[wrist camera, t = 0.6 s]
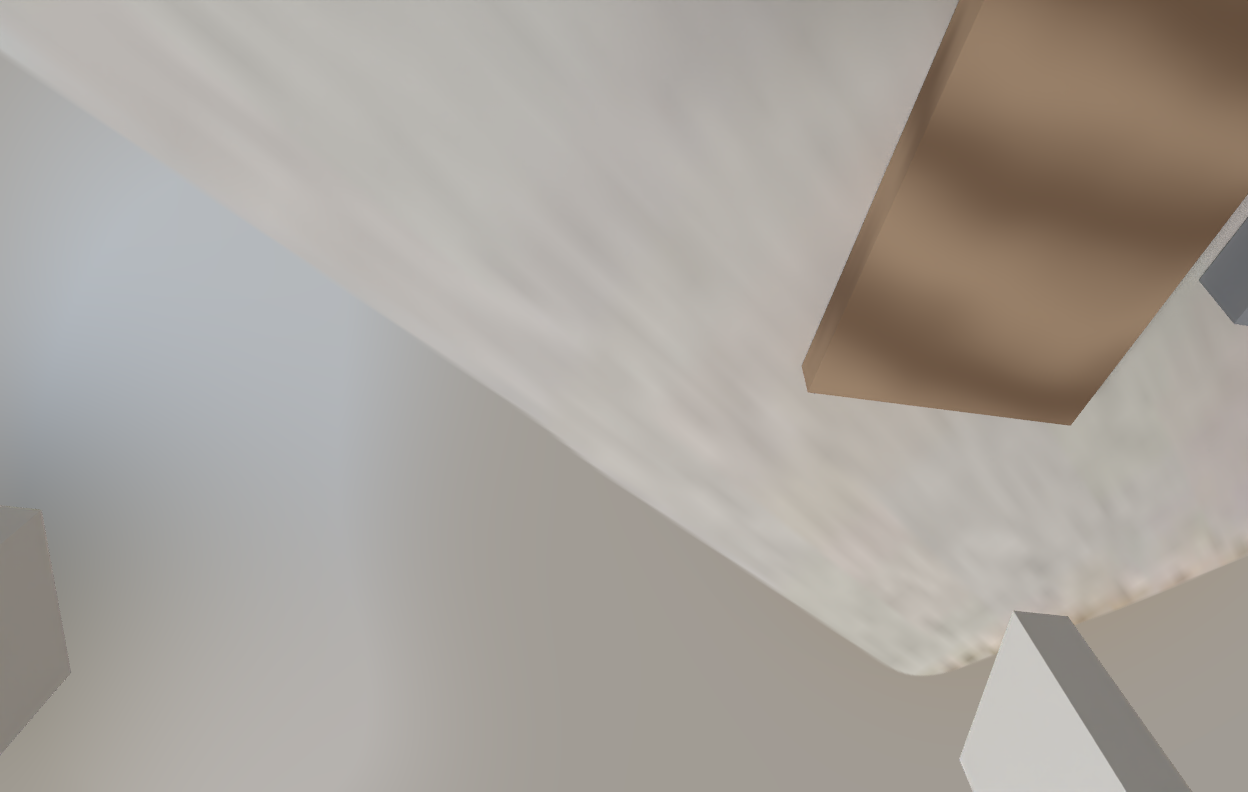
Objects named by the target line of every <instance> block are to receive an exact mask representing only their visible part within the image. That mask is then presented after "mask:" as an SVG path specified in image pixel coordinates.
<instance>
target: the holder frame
mask: <svg viewBox="0 0 1248 792" xmlns="http://www.w3.org/2000/svg"><path fill="white" fill-rule="evenodd" d="M1199 281H1200V282H1201V284H1202V285H1203V286H1204V287H1205V289H1206V290H1207V291H1208V292H1209V294H1210V295H1211V296H1212V297H1213V298H1214V300H1215V301H1216V302H1217V303H1218V305H1219V306H1220V307H1221V308H1222V310H1223V311H1224V312H1225V313H1226V315H1227V316H1228V317H1229V318H1230V319H1231V321H1232V322H1233V323H1234V324H1240V325H1246V326H1248V218H1247V219H1246V221H1245V222H1244V223H1243V224H1242V226H1241V227H1240V228H1239V230H1238V231H1237V232H1236V233H1235V235H1234V236H1233V237H1232V238H1231V240H1230V241H1229V242H1228V244H1227V245H1226V246H1225V247H1224V249H1223V250H1222V251H1221V253H1220V254H1219V255H1218V256H1217V258H1216V259H1215V260H1214V261H1213V263H1212V264H1211V265H1210V267H1209V268H1208V269H1207V270H1206V272H1205V273H1204V274H1203V276H1202V277H1201V278H1200V279H1199Z"/></svg>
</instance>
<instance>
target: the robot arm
mask: <svg viewBox="0 0 1248 792" xmlns="http://www.w3.org/2000/svg"><path fill="white" fill-rule="evenodd" d="M70 673H71V670H70V664H69V658H68V654H67V647H66V642H65V637H64V631H63V625H62V620H61V615H60V610H59V603H58V598H57V592H56V587H55V582H54V576H53V571H52V565H51V560H50V555H49V549H48V543H47V538H46V532H45V527H44V521H43V516H42V511H41V510H39V509H28V508H19V507H10V506H0V755H1V754H2V752H3V751H4V750H5V749H6V748H7V747H8V745H9V744H10V743H11V742H12V740H14V738H15V737H16V736H17V735H18V734H19V733H20V732H21V730H22V729H23V728H24V727H25V726H26V725H27V723H28V722H29V721H30V719H32V718H33V716H34V715H35V714H36V713H37V712H38V710H39V709H40V708H41V707H42V706H43V705H44V704H45V702H46V701H47V700H48V699H49V698H50V697H51V695H52V694H53V693H54V692H55V691H56V690H57V688H58V687H59V686H60V685H61V684H62V682H63V681H64V680H65V679H66V678H67V677H68V675H69V674H70ZM959 760H960V763H961V765H962V767H963V770H964V772H965V774H966V776H967V779H968V781H969V784H970V786H971V788H972V790H973V792H1192V791H1191V789H1190V788H1189V786H1188V785H1187V784H1186V782H1185V781H1184V779H1183V778H1182V777H1181V775H1180V774H1179V772H1178V771H1177V770H1176V768H1175V767H1174V765H1173V764H1172V763H1171V761H1170V760H1169V759H1168V757H1167V756H1166V754H1165V753H1164V751H1163V750H1162V748H1161V747H1160V746H1159V744H1158V743H1157V741H1156V740H1155V739H1154V737H1153V736H1152V734H1151V733H1150V732H1149V730H1148V729H1147V727H1146V726H1145V725H1144V723H1143V722H1142V720H1141V719H1140V717H1139V716H1138V715H1137V713H1136V712H1135V710H1134V709H1133V708H1132V706H1131V705H1130V703H1129V702H1128V701H1127V699H1126V698H1125V696H1124V695H1123V693H1122V692H1121V691H1120V689H1119V688H1118V686H1117V685H1116V684H1115V682H1114V681H1113V679H1112V678H1111V677H1110V675H1109V674H1108V672H1107V671H1106V670H1105V668H1104V667H1103V665H1102V664H1101V663H1100V661H1099V660H1098V658H1097V657H1096V656H1095V654H1094V653H1093V651H1092V650H1091V648H1090V647H1089V646H1088V644H1087V643H1086V641H1085V640H1084V639H1083V637H1082V636H1081V634H1080V633H1079V632H1078V630H1077V629H1076V627H1075V626H1074V624H1073V623H1072V622H1071V620H1070V619H1069V617H1068V616H1059V615H1049V614H1039V613H1030V612H1020V611H1013V613H1012V616H1011V618H1010V621H1009V624H1008V627H1007V629H1006V632H1005V635H1004V638H1003V640H1002V643H1001V646H1000V649H999V651H998V654H997V657H996V660H995V663H994V665H993V668H992V671H991V674H990V676H989V679H988V682H987V685H986V687H985V690H984V693H983V696H982V699H981V701H980V704H979V707H978V709H977V713H976V715H975V718H974V721H973V723H972V726H971V729H970V732H969V734H968V737H967V740H966V743H965V745H964V748H963V751H962V753H961V756H960V759H959Z"/></svg>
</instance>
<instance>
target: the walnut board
mask: <svg viewBox="0 0 1248 792" xmlns="http://www.w3.org/2000/svg"><path fill="white" fill-rule="evenodd" d="M1247 194H1248V0H959V2H958V5H957V7H956V9H955V12H954V14H953V16H952V18H951V21H950V23H949V25H948V28H947V30H946V32H945V35H944V37H943V39H942V42H941V44H940V46H939V49H938V51H937V53H936V56H935V58H934V60H933V63H932V65H931V67H930V70H929V72H928V74H927V77H926V79H925V81H924V84H923V86H922V88H921V90H920V93H919V95H918V97H917V100H916V102H915V104H914V107H913V109H912V111H911V114H910V116H909V118H908V121H907V123H906V125H905V128H904V130H903V132H902V135H901V137H900V139H899V142H898V144H897V146H896V149H895V151H894V153H893V155H892V158H891V160H890V162H889V165H888V167H887V169H886V172H885V174H884V176H883V179H882V181H881V183H880V186H879V188H878V190H877V193H876V195H875V197H874V200H873V202H872V204H871V207H870V209H869V211H868V214H867V216H866V218H865V220H864V223H863V225H862V227H861V230H860V232H859V234H858V237H857V239H856V241H855V244H854V246H853V248H852V251H851V253H850V255H849V258H848V260H847V262H846V265H845V267H844V269H843V272H842V274H841V276H840V279H839V281H838V283H837V286H836V288H835V290H834V292H833V295H832V297H831V299H830V302H829V304H828V306H827V309H826V311H825V313H824V316H823V318H822V320H821V323H820V325H819V327H818V330H817V332H816V334H815V337H814V339H813V341H812V344H811V346H810V348H809V351H808V353H807V355H806V357H805V360H804V362H803V364H802V369H803V373H804V378H805V382H806V386H807V391H808V392H810V393H818V394H826V395H834V396H842V397H850V398H858V399H865V400H873V401H881V402H889V403H897V404H905V405H913V406H920V407H928V408H936V409H944V410H952V411H960V412H968V413H976V414H983V415H991V416H999V417H1007V418H1015V419H1023V420H1031V421H1038V422H1046V423H1054V424H1062V425H1070V426H1071V424H1072V423H1073V422H1074V420H1075V419H1076V418H1077V416H1078V415H1079V414H1080V413H1081V411H1082V410H1083V409H1084V407H1085V406H1086V405H1087V403H1088V402H1089V401H1090V399H1091V398H1092V397H1093V396H1094V394H1095V393H1096V392H1097V390H1098V389H1099V388H1100V386H1101V385H1102V384H1103V382H1104V381H1105V380H1106V379H1107V377H1108V376H1109V375H1110V373H1111V372H1112V371H1113V369H1114V368H1115V367H1116V365H1117V364H1118V363H1119V362H1120V360H1121V359H1122V358H1123V356H1124V355H1125V354H1126V352H1127V351H1128V350H1129V349H1130V347H1131V346H1132V345H1133V343H1134V342H1135V341H1136V339H1137V338H1138V337H1139V335H1140V334H1141V333H1142V332H1143V330H1144V329H1145V328H1146V326H1147V325H1148V324H1149V322H1150V321H1151V320H1152V318H1153V317H1154V316H1155V315H1156V313H1157V312H1158V311H1159V309H1160V308H1161V307H1162V305H1163V304H1164V303H1165V302H1166V300H1167V299H1168V298H1169V296H1170V295H1171V294H1172V292H1173V291H1174V290H1175V288H1176V287H1177V286H1178V285H1179V283H1180V282H1181V281H1182V279H1183V278H1184V277H1185V275H1186V274H1187V273H1188V271H1189V270H1190V269H1191V268H1192V266H1193V265H1194V264H1195V262H1196V261H1197V260H1198V258H1199V257H1200V256H1201V254H1202V253H1203V252H1204V251H1205V249H1206V248H1207V247H1208V245H1209V244H1210V243H1211V241H1212V240H1213V239H1214V238H1215V236H1216V235H1217V234H1218V232H1219V231H1220V230H1221V228H1222V227H1223V226H1224V224H1225V223H1226V222H1227V221H1228V219H1229V218H1230V217H1231V215H1232V214H1233V213H1234V211H1235V210H1236V209H1237V207H1238V206H1239V205H1240V204H1241V202H1242V201H1243V200H1244V198H1245V197H1246V196H1247Z"/></svg>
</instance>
